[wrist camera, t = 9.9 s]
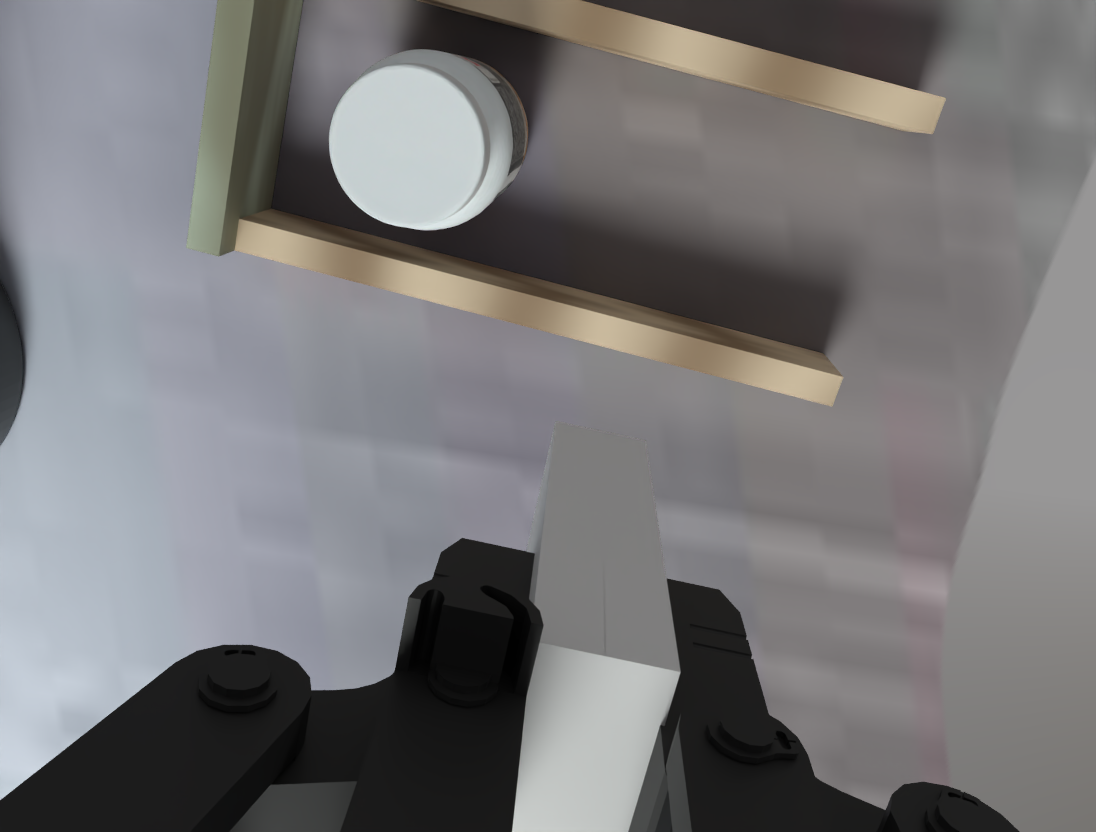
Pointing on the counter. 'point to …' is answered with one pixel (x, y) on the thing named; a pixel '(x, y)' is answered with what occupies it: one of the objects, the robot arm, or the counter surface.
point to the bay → (254, 228)
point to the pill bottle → (427, 139)
